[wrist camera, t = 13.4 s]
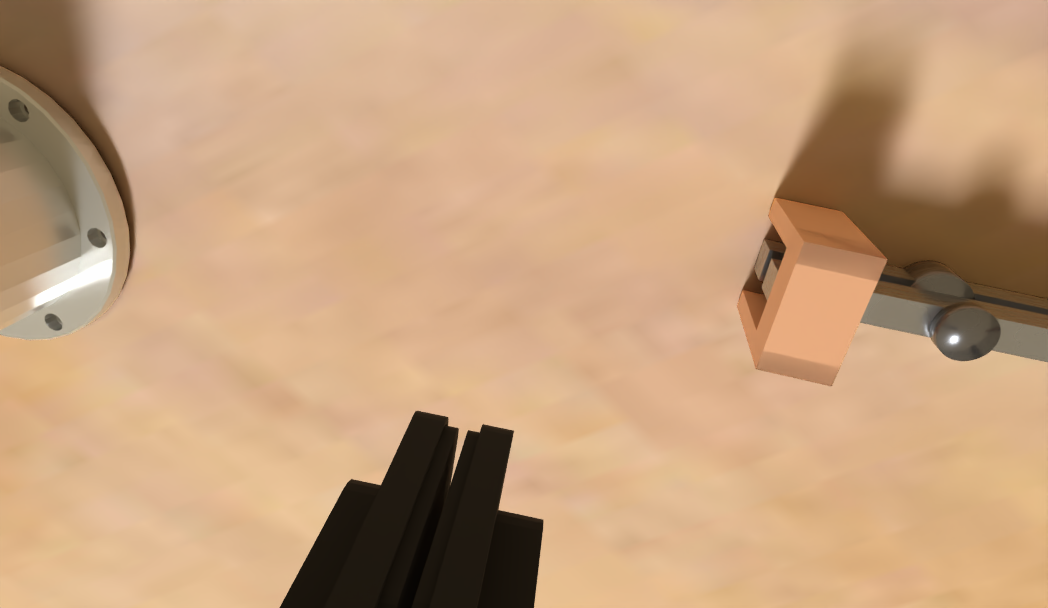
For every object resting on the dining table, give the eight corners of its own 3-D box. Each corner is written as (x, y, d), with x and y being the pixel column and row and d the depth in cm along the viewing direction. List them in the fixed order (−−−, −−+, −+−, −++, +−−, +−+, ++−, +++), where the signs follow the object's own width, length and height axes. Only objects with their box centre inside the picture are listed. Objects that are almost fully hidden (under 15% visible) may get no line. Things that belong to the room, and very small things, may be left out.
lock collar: (737, 306, 26) (756, 368, 21) (774, 197, 24) (803, 241, 19) (799, 319, 25) (831, 386, 21) (842, 211, 23) (887, 259, 19)
